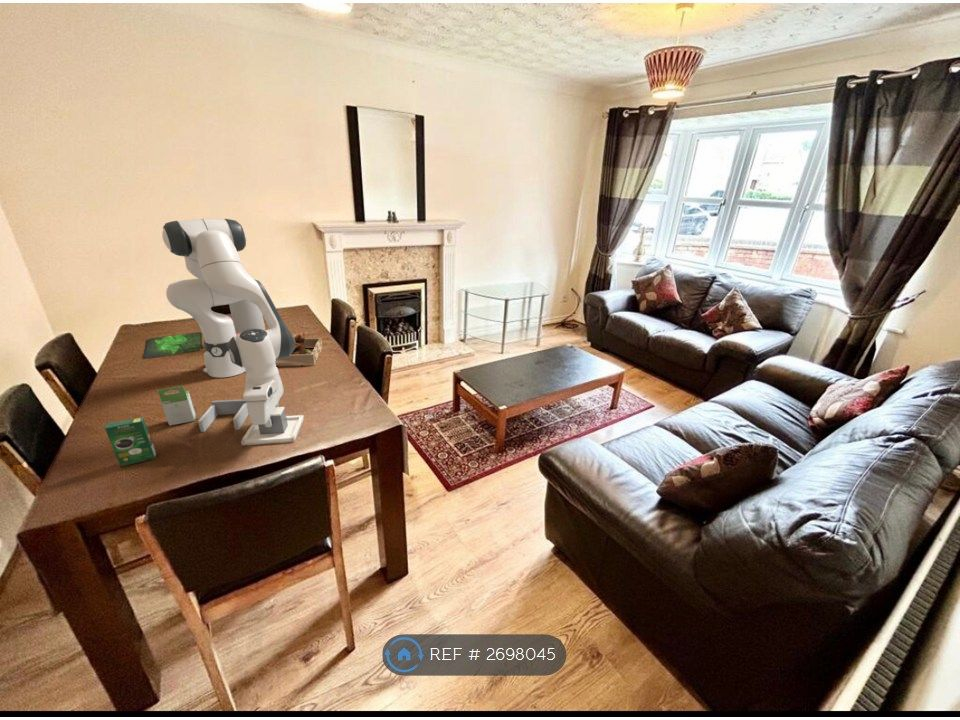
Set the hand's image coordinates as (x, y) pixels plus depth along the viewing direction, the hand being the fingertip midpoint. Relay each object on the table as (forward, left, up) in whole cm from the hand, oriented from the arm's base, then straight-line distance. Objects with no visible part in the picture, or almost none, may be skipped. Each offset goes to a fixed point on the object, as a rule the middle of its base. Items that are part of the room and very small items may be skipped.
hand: (272, 420), depth 123 cm
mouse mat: (-79, -66, -5) cm, 103 cm away
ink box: (-10, -31, -4) cm, 33 cm away
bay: (-8, -17, -4) cm, 19 cm away
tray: (0, 0, -4) cm, 4 cm away
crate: (-60, -7, -4) cm, 60 cm away
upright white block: (0, 0, -4) cm, 4 cm away
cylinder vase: (-78, -31, -4) cm, 84 cm away
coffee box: (+10, -33, -4) cm, 35 cm away
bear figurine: (-58, -7, -5) cm, 59 cm away
